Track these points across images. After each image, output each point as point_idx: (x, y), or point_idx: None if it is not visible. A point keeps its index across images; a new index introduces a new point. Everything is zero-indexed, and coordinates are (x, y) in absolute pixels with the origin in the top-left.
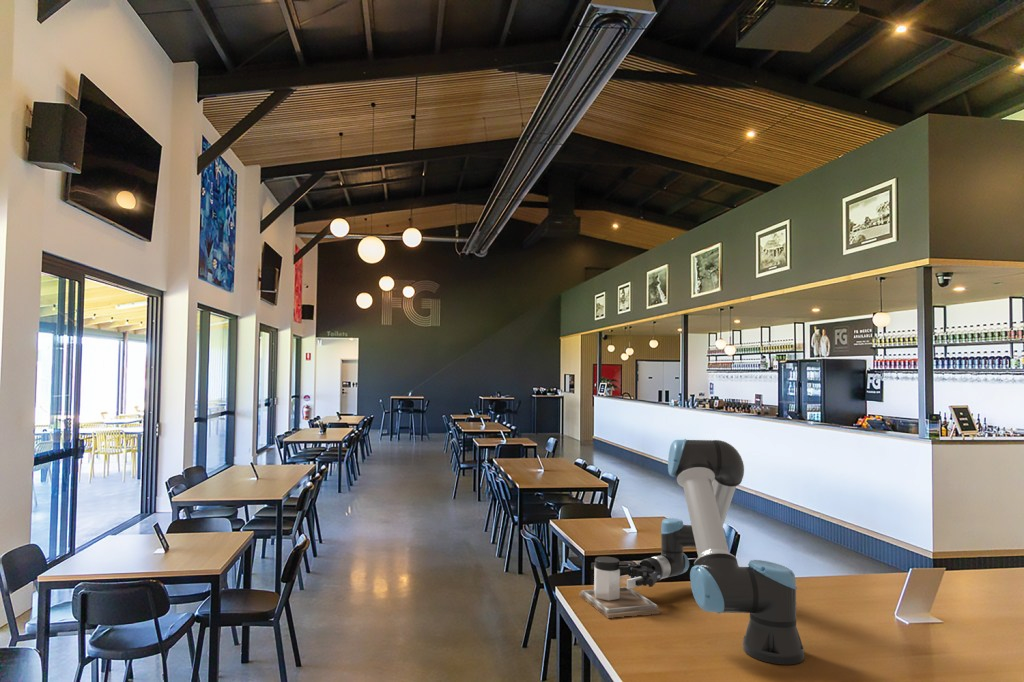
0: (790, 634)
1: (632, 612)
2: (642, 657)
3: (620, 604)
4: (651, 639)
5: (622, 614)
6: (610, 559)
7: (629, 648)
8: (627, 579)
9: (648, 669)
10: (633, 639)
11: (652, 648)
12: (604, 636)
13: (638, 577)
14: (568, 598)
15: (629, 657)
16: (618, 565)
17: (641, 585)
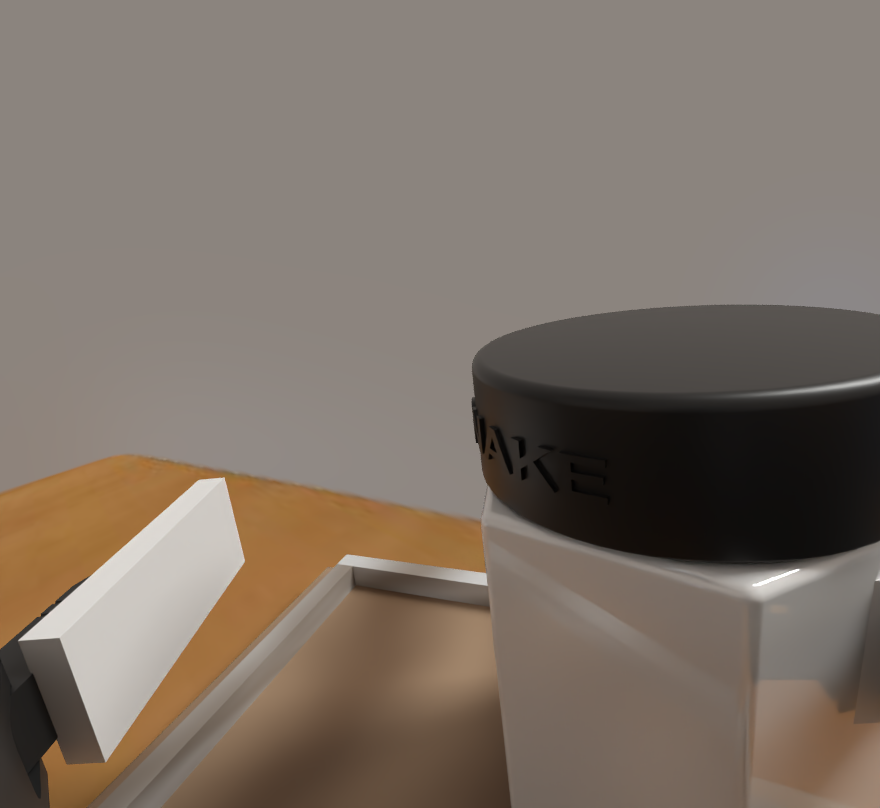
0: None
1: (197, 698)
2: (56, 508)
3: (383, 745)
4: (16, 595)
5: (262, 638)
6: (663, 349)
7: (116, 511)
8: (217, 482)
9: (30, 490)
10: (114, 549)
11: (12, 554)
12: (244, 502)
13: (88, 585)
14: None
15: (104, 489)
16: (487, 437)
17: (76, 749)
